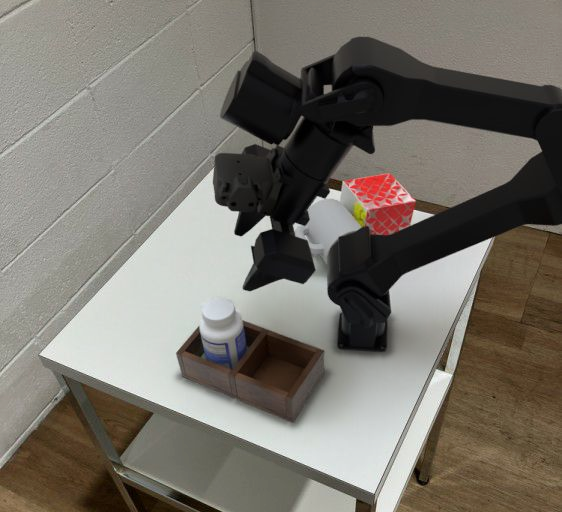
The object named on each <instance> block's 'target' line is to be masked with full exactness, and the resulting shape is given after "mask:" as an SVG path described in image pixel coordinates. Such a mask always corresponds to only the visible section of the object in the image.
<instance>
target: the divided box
mask: <svg viewBox="0 0 562 512" xmlns="http://www.w3.org/2000/svg"><path fill="white" fill-rule="evenodd" d="M242 320H243V326H244V332H245V339H246V346H247V351H246V353H245V354H244V355H243V357H242V358H241V359H240V360H239V362H238V363H237V364H236V366H235V367H234V368H233V370H231V369H228V368H226V367H223V366H221V365H218V364H216V363H213V362H211V361H208V360H206V356H205V351H204V347H203V343H202V338H201V334H200V328H199V325H198V326H197V327H196V328H195V330H194V331H193V332H192V333H191V334H190V336H189V337H188V338H187V339H186V340H185V341H184V343H183V344H182V345H181V346H180V347H179V349H177V351H176V352H175V355H176V359H177V363H178V366H179V370H180V375H181V377H183V378H185V379H187V380H190V381H193V382H195V383H198V384H200V385H202V386H204V387H207V388H208V389H212V390H213V391H217V392H219V393H221V394H224V395H227V396H228V397H230V398H233V399H236V400H238V401H240V402H243V403H245V404H247V405H250V406H252V407H254V408H257V409H259V410H262V411H264V412H267V413H268V414H271V415H274V416H276V417H278V418H281V419H284V420H286V421H288V422H291V423H294V422H295V421H296V419H297V417H298V416H299V414H300V412H301V411H302V409H303V408H304V406H305V405H306V403H307V402H308V400H309V398H310V397H311V395H312V394H313V392H314V391H315V389H316V388H317V386H318V384H319V383H320V382H321V380H322V378H323V376H324V375H325V349H321V348H319V347H316V346H314V345H311V344H308V343H307V342H303V341H300V340H297V339H294V338H293V337H289V336H286V335H284V334H281V333H278V332H275V331H273V330H270V329H267V328H264V327H262V326H260V325H257V324H254V323H252V322H249V321H246V320H244V319H242Z"/></svg>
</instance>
